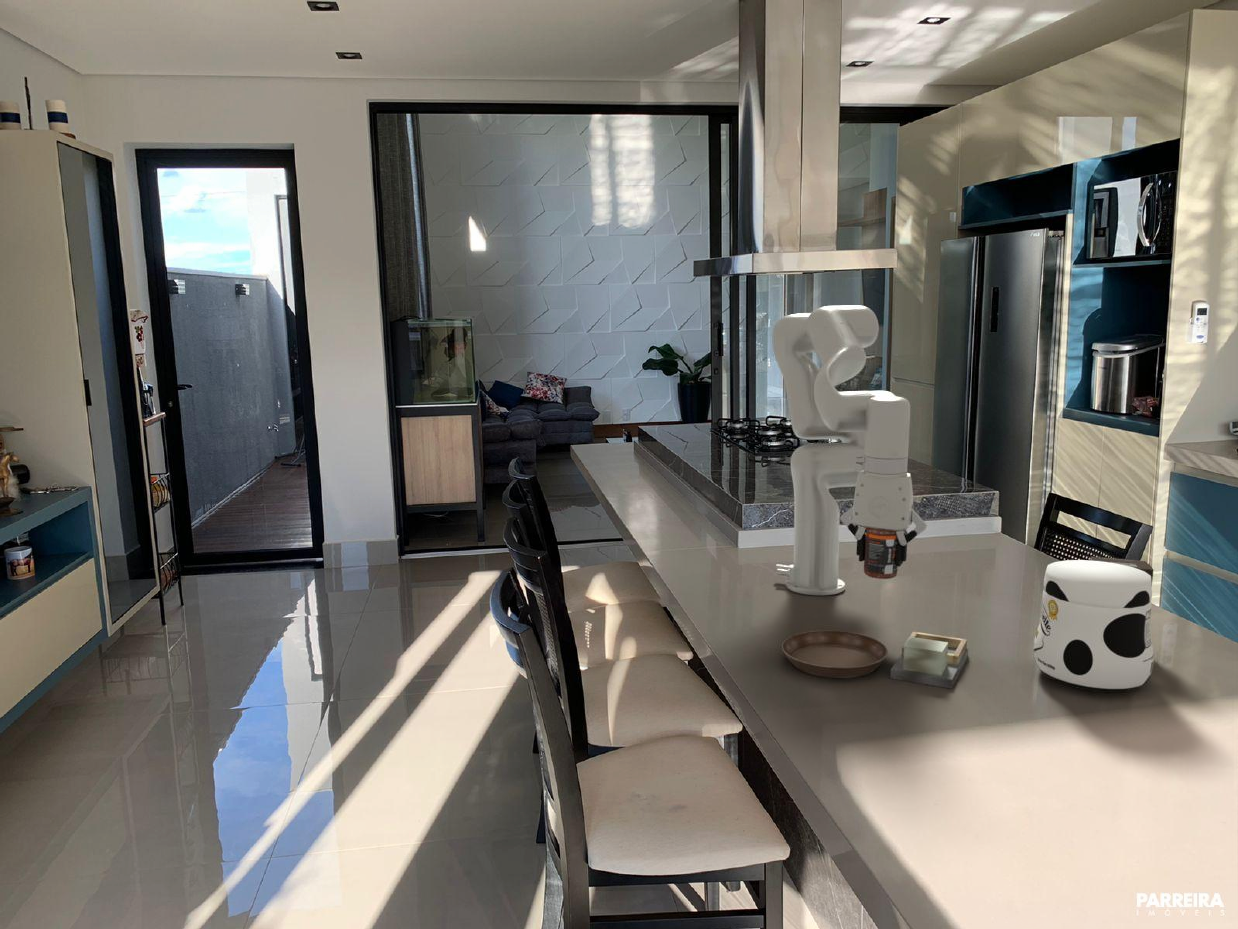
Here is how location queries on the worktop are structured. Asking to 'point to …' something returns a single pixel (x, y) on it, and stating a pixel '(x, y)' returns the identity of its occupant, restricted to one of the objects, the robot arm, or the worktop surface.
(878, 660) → the plant saucer
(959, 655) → the base
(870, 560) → the supplement bottle
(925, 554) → the worktop surface
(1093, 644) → the milk container
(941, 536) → the worktop surface
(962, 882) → the worktop surface
